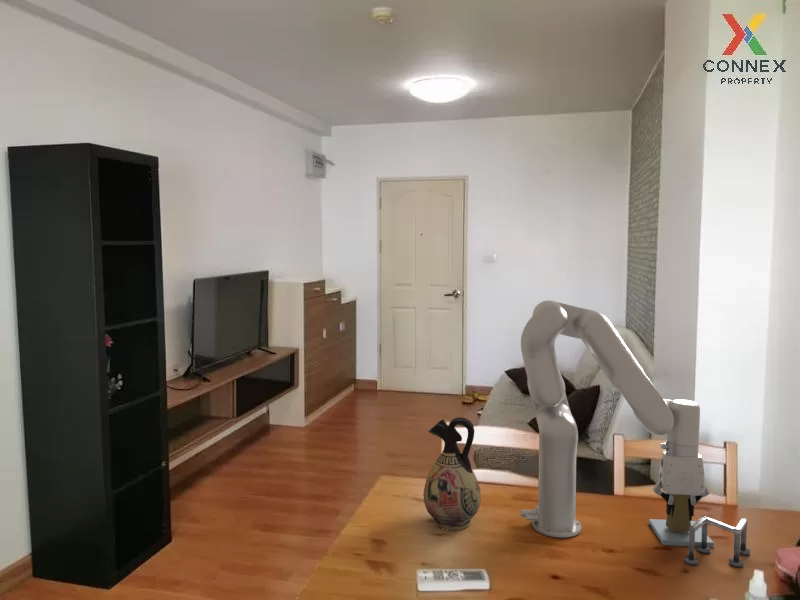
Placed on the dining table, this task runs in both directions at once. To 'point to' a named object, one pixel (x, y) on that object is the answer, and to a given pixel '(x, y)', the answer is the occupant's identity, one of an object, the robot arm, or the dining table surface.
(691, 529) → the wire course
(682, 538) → the pad
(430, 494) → the ceramic jug
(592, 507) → the dining table surface
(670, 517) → the cork
